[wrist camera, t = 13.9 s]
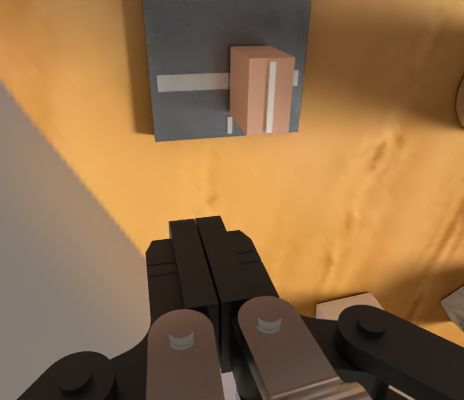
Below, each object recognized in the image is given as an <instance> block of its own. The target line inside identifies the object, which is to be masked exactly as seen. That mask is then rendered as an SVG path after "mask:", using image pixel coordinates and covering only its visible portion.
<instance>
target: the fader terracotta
mask: <svg viewBox="0 0 464 400" xmlns="http://www.w3.org/2000/svg"><path fill="white" fill-rule="evenodd" d="M294 66H295V57H293V56H291V55H289V54H287V53H285V52H282V51H280V50H278V49H276V48H274V47H272V46H233V47H230V115H231V117H232V118H233V119H234V120H235V122H236V123H237V124H238V125H239V127H240V128H241V129H242V130H243V132H244V133H245V134H246V136H253V135H267V134H281V133H288V132H289V121H290V110H291V99H292V88H293V77H294Z"/></svg>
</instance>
